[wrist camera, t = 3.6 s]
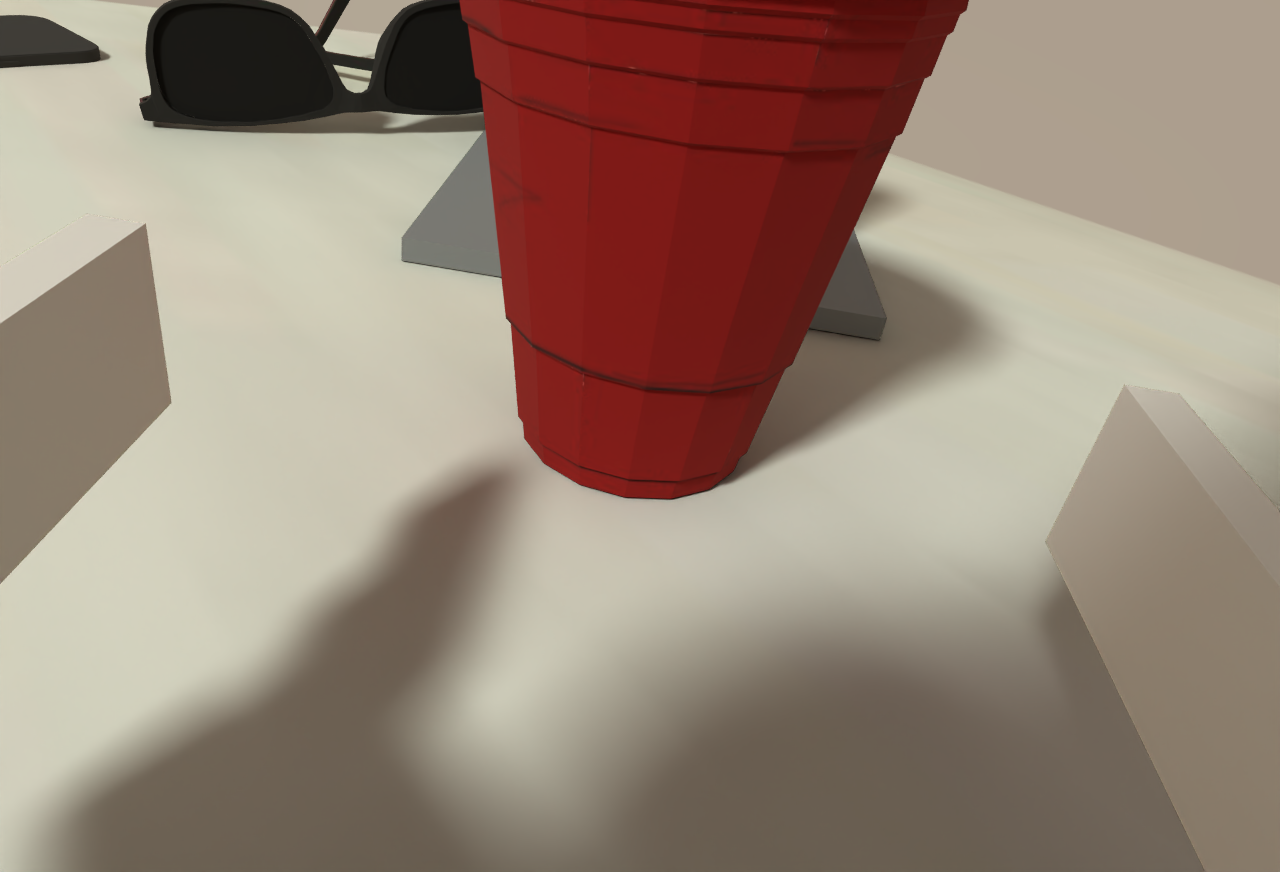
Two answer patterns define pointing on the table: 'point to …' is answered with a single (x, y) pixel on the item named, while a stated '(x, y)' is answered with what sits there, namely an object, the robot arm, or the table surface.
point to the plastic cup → (679, 208)
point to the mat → (467, 241)
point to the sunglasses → (300, 64)
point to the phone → (41, 43)
